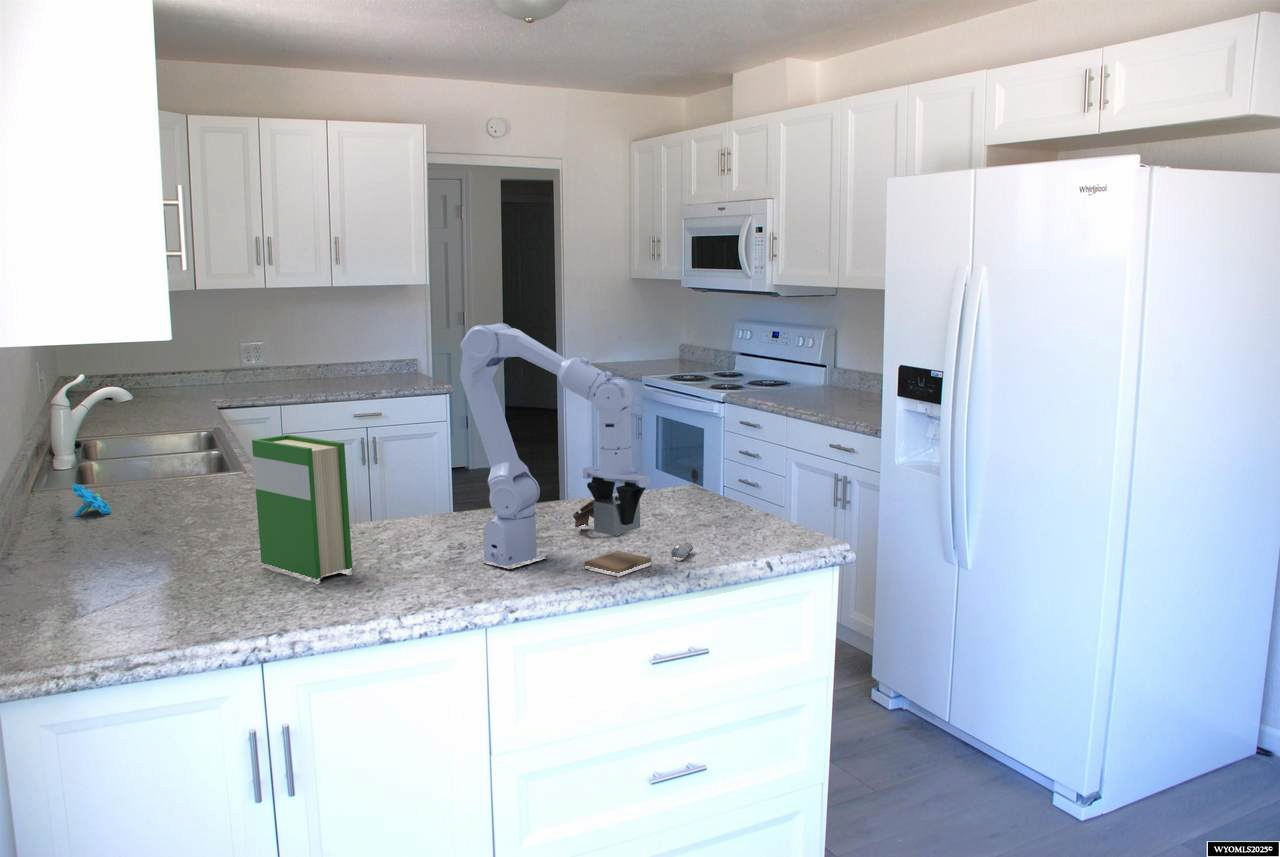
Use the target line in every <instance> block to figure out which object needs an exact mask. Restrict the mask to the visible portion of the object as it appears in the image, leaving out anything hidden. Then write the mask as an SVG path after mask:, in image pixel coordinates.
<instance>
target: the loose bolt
mask: <svg viewBox="0 0 1280 857" xmlns="http://www.w3.org/2000/svg"><path fill="white" fill-rule="evenodd" d="M692 550H693V551H694V546H693V545H692V544H691V543H686V544H685V545H681V544H678V545H676V546H674V548H672V550H671V552H670V553H671V557H672V558H673V557H677V558H678V557H679V558H685V559H686V558H687V557H688V556H687V554H689V553H690V552H691V551H692ZM693 551H692V552H693ZM692 552H691V553H692ZM691 553H690V554H691ZM690 554H689V555H690Z"/></svg>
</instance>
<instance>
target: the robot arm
mask: <svg viewBox="0 0 1280 857" xmlns="http://www.w3.org/2000/svg"><path fill="white" fill-rule="evenodd" d="M459 345H460V348H461V351H462V355H461V364H460V365H461V366H460V372H459V377H460V382H461V384H462V387H463V390H464V393H465V396H466V399H467V401H468V405H469V407H470V411H471V414H472V418H473V420H474V422H475V426H476V428H477V431H478V434H479V437H480V439H481V443H482V445H483V448H484V451H485V455H486V458H487V461H488V463H489V466H490V472H489V475H488V478H487V484H488V487H489V497H488V499H489V504H490V507H491V509H492V510H493V512H494V513H495V517H494V518H493V519H491V520H488V521H487V522H485V524H484V527H483V554H484V555H483V556H484V559H483V560H486V561H489V562H493V563H496V564H500V565H503V566H508V565H511V564H515V563H518V562H523V561H528V560H532V559H534V558H536V556H537V554H538V551H537V548H538V547H537V526H536V525H537V524H536V523H537V522H536V521H537V520H536V509H535V503H537V501H538V500H539V499H540V494H541V489H540V485H539V483H538V481H537V480H536V479H535V478H534V477H533V475H532V474H531V473H530V470H529V467H528V466H527V465H526V464H525V463H524V462H523V461H522V460H521V459H520V457H519V455H518V452H517V450H516V447H515V443H514V441H513V438H512V437H513V436H512V435H511V432H510V429H509V426H508V423H507V420H506V417H505V414H504V411H503V408H502V405H501V402H500V398H499V396H498V393H497V390H496V387H495V385H494V380H493V377H494V376H495V374H496V372H497V370H498V368H499V366H500V364H502V362H503V361H504V360H506V359H507V358H512V357H513V358H515V357H516V358H518V357H519V358H521V359H523V360H526V361H528V362H529V363H532V364H534V365H536V366H537V367H540V368H541V369H544V370H546V371H548V372H550V373H552V374H554V375H556V376H557V377H558V381H559V383H560V385H561V386H562V387H564V388H565V389H567V390H569V391H571V392H572V393H574V394H576V395H578V396H580V397H582V398H583V399H586V400H587V401H589V402H591V403H592V404H593V405H594V407H595V409H596V410H597V412H598V451H599V452H598V453H599V454H598V455H599V456H598V458H599V459H598V460H599V462H598V463H599V466H589V465H588V466H585V467H582V478H583V479H586V480H587V479H592V480H591V482H587V483H586V484H587V489H588V490H589V492H590V494H591V495H592V498H593V500H595V501H597V500H601V499H605V498H609V497H612V496H614V491H615V490H616V492H617V495H619V499H620V503H621V513H622V522H623V525H629V524H632V523H633V521H634V517H635V512H636V509H637V505H638V502H639V500H640V501H641V497H642V495H643V493H644V492H645V490H646V488H648V487H650V486H651V475H650V474H646V473H643V472H639V471H636V470H635V469H634V468H633V466H632V462H633V460H632V423H631V422H632V421H631V407H630V406H631V405H632V403H633V402H634V399H635V391H634V388H633V385H632V384H631V383H630V382H629V381H627V380H626V379H625V377H622V376H617V377H613V373H611V372H610V371H608V370H607V371H603V370H601V369H600V368H597V367H595V366H594V365H592V364H590V359H588V358H586V357H580V358H579V357H571V358H569V359H567V358H565V357H564V356H562V355H560V354H558V353H557V352H555V351H554V350H552V349H551V348H549V347H548V346H546V345H544V344H542V343H540V342H539V341H538V340H535V339H534V338H532V337H530V336H529V335H528V334H526V333H525V332H523V331H521V330H520V329H517V328H515V327H513V328H512V326H510V325H509V324H507V323H504V322H498V323H497V322H496V323H493V324H486V325H483V324H480V325H474V326H473V327H470V328H469V329H468V331H467V332H466V334H465V336H464V338H462V340H461V342H460V344H459ZM616 483H618V484H624V485H620V486H615V485H616ZM614 489H615V490H614Z"/></svg>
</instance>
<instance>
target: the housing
mask: <svg viewBox="0 0 1280 857" xmlns="http://www.w3.org/2000/svg"><path fill="white" fill-rule="evenodd" d="M592 501H593V500H592ZM593 503H594V518H593V528H594V529H593V530H594V532H596V533H600V534H605V535H610V536H615V535H618V534H620V535H621V534H624V533H627V532H631V531H634V530H637V529H640V528H641V499H640V500H639V502H638V505H637V509H636V512H635V517H634V521H633V523H632V524H629V525H623V522H622V513H621V503H620V499H619V495H618V494H617V495H613V496H612V497H609V498H605V499H601V500H597V501H593ZM618 536H619V535H618ZM615 537H616V536H615Z"/></svg>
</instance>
